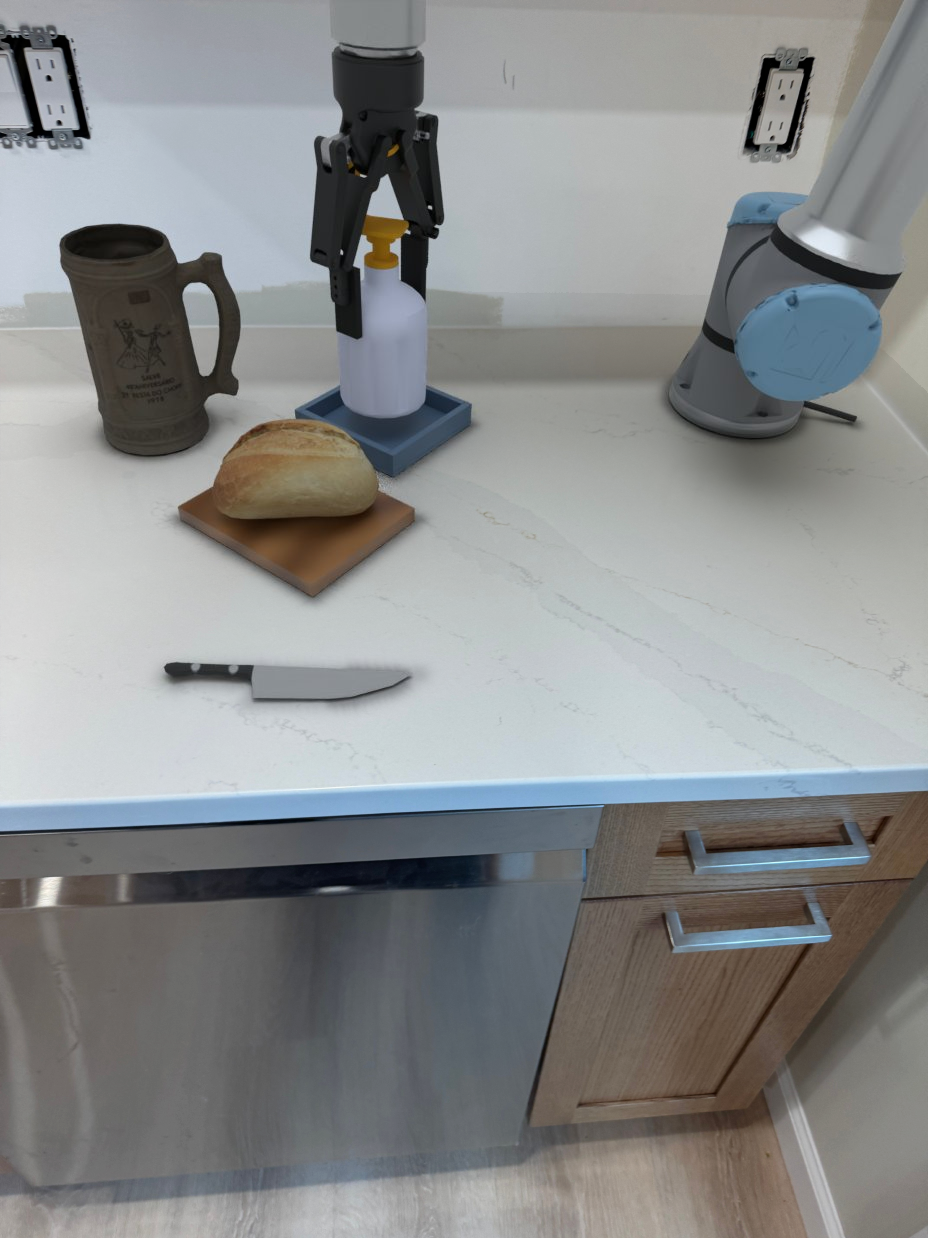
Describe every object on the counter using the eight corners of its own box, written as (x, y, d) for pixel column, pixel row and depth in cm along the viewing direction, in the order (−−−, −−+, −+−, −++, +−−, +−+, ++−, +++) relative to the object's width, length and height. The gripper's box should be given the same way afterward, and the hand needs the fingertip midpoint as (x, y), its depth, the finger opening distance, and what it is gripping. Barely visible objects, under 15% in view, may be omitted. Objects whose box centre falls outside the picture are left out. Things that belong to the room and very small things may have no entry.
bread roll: (215, 484, 79) (201, 410, 73) (370, 470, 82) (367, 398, 76) (218, 547, 72) (202, 470, 67) (386, 529, 75) (384, 455, 70)
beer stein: (108, 467, 82) (65, 263, 69) (89, 415, 89) (47, 220, 76) (258, 444, 89) (246, 253, 75) (230, 397, 95) (214, 214, 82)
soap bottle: (414, 426, 84) (418, 163, 67) (329, 412, 85) (312, 150, 68) (434, 385, 91) (442, 134, 74) (354, 373, 92) (344, 123, 75)
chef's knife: (411, 705, 63) (413, 674, 65) (412, 697, 62) (413, 665, 64) (157, 698, 62) (166, 667, 64) (153, 689, 61) (163, 658, 63)
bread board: (414, 520, 79) (414, 508, 78) (312, 597, 70) (311, 584, 69) (287, 456, 85) (285, 443, 84) (180, 519, 77) (177, 506, 76)
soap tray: (470, 424, 92) (472, 403, 90) (393, 477, 84) (392, 455, 82) (378, 384, 97) (377, 363, 95) (296, 430, 89) (294, 409, 87)
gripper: (424, 24, 74) (420, 275, 90) (244, 56, 61) (276, 343, 77) (492, 38, 71) (476, 295, 87) (318, 74, 58) (335, 368, 74)
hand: (382, 317), depth 82 cm, fingers closed on soap bottle, 9 cm apart
